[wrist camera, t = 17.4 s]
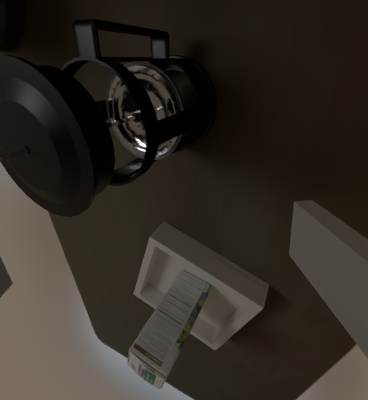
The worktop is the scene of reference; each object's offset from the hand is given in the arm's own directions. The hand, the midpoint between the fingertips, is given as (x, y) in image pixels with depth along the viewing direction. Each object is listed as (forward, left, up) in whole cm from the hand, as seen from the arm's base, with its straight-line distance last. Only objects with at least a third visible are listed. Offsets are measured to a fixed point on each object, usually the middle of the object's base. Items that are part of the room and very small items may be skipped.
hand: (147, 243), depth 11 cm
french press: (-8, -1, -18) cm, 20 cm away
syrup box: (+3, -28, -18) cm, 33 cm away
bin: (+3, -28, -18) cm, 34 cm away
